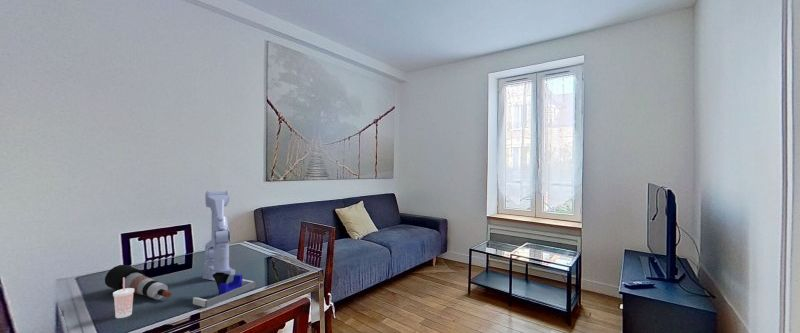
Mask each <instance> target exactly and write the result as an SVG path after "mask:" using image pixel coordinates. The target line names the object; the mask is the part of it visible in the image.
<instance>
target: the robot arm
mask: <svg viewBox="0 0 800 333" xmlns="http://www.w3.org/2000/svg"><path fill="white" fill-rule="evenodd" d="M204 196H205V199H204V200H205V206H206V208H209V209H210V211H211V239H210V240H209V241H208V242H207V243H206V244H205V246H204V260H205V261H204V263H203V276H202V277H201V278H202V279H204V280H210V281H214V282H215V283H216V286H217V289H218V291H219V284H221V283H225V284H227V280H228V279H229V277H230V276H234V275H236V269H234V268H232V267H231V266H230V243H231V231H230V228H229V225H228V224H229V222H228V218H227V216H225V207H226V206H228V204H229V202H230V191H229V190H227V189H226V190H213V191H212V190H211V191H208V190H207V191H206V192H205V195H204Z"/></svg>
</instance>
